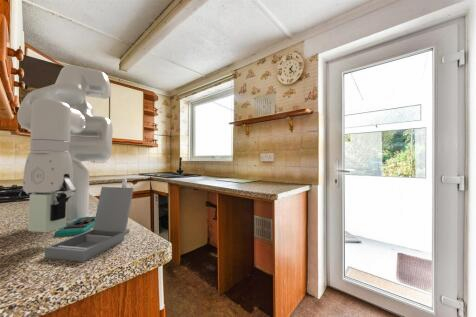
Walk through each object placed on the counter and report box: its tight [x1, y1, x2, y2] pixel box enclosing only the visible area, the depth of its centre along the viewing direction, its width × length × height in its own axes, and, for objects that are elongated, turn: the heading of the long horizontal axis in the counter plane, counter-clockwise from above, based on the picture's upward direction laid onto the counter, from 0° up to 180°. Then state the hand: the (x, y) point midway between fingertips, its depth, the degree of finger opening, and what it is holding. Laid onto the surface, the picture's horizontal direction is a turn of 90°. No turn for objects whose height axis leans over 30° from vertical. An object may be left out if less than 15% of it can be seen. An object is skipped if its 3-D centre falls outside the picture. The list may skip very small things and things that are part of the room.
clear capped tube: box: [121, 178, 131, 236], centre depth 59 cm, size 2×2×17 cm
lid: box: [92, 186, 134, 232], centre depth 57 cm, size 10×12×1 cm
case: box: [44, 228, 125, 263], centre depth 49 cm, size 10×12×3 cm
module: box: [27, 190, 67, 233], centre depth 51 cm, size 5×5×10 cm
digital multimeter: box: [53, 216, 95, 238], centre depth 64 cm, size 7×15×3 cm, turn 17°
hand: (48, 218), depth 51 cm, fingers closed on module, 5 cm apart
